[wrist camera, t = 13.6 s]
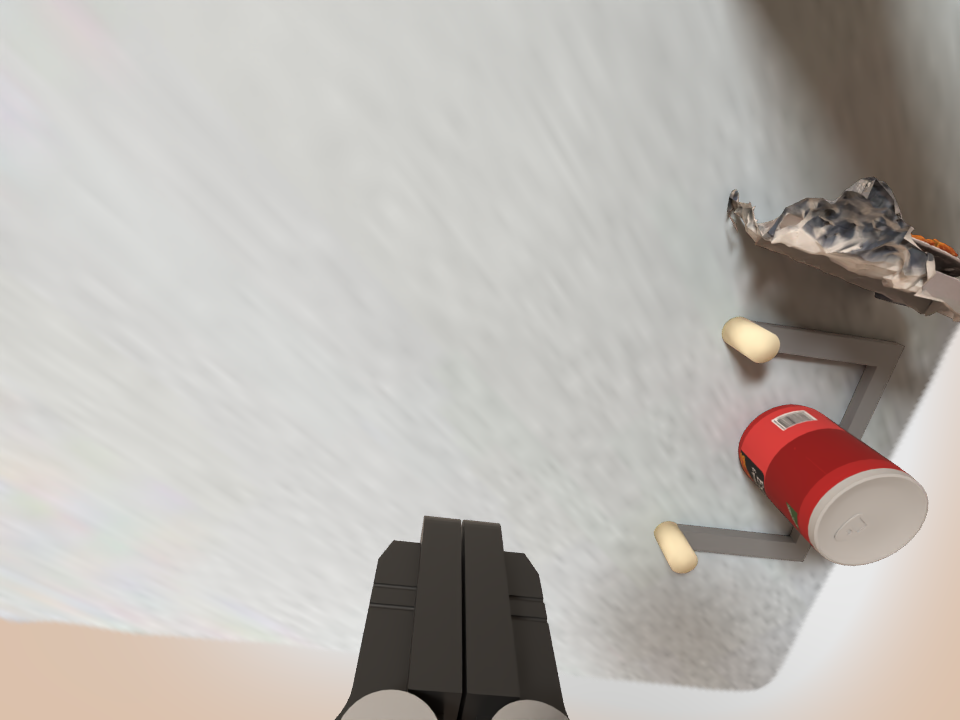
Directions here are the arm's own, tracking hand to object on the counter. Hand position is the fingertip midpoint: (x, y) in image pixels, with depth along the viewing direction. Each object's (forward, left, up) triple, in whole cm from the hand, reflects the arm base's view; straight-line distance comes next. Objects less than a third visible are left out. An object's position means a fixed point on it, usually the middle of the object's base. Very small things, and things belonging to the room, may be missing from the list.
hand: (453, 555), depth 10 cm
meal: (-6, +26, -31) cm, 41 cm away
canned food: (+11, +30, -31) cm, 45 cm away
